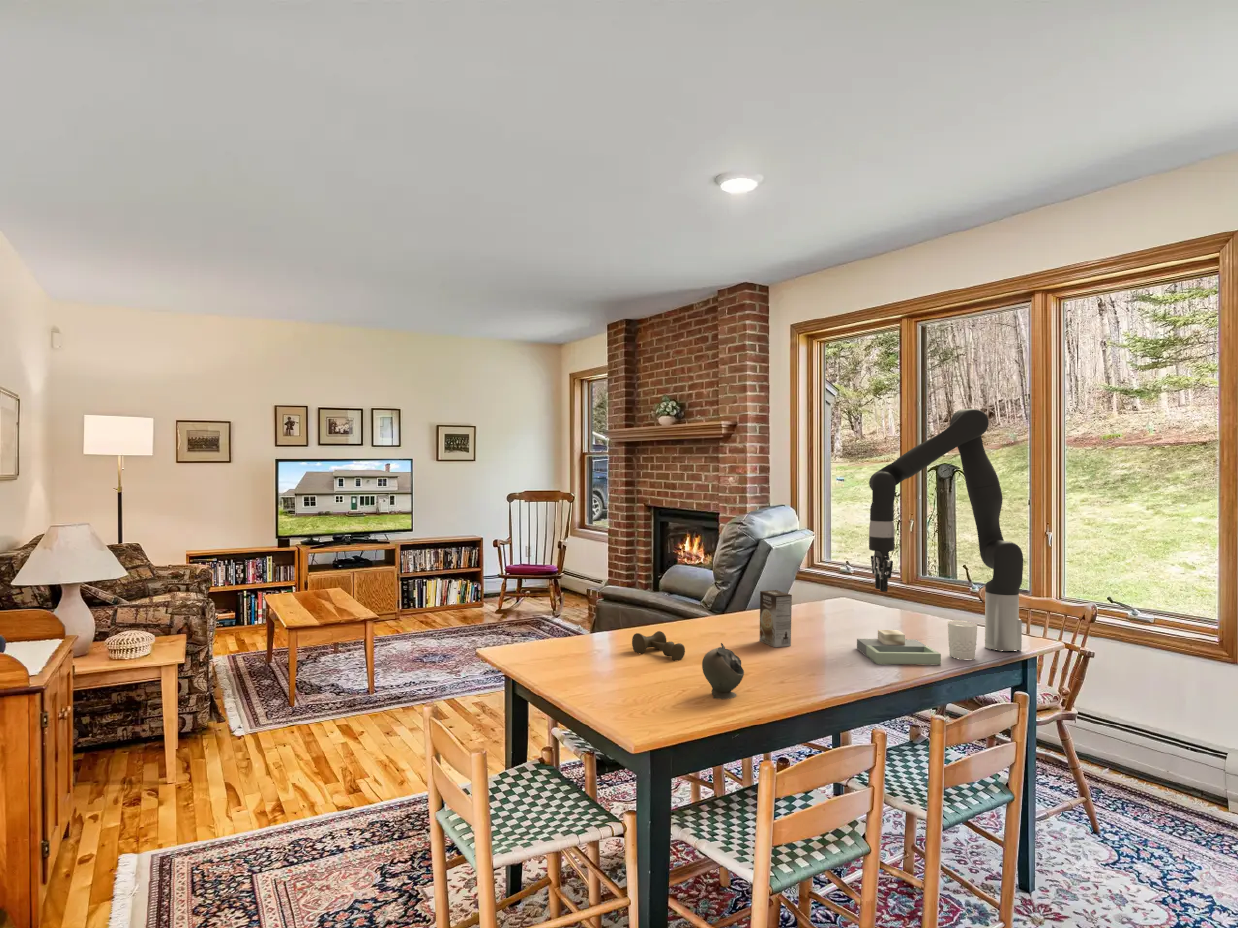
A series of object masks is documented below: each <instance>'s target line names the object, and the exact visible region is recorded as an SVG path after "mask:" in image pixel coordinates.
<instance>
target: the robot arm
mask: <svg viewBox="0 0 1238 928" xmlns="http://www.w3.org/2000/svg"><path fill="white" fill-rule="evenodd" d="M989 421H990V420H989V417H988V415H987V414H986V413H985V412H984V411H983V410H980V409H977V408H962V409H959V410H957V411H955V412H954V413H953V414H952V416H951V418H950V421H949V426H948V427H947V428H945V429H943V431H941V432H940V433H938V434H937V435H934V436H933V437H931V438H930V439H927V440H926V441H924V442H921V443H920V444H918V445H916V446H914V447H912V448H911V449H909V450H908V451H907V452H904V453H903V454H902V455H900V456H899V457H898V458H897V459H895V460H894V461H893V462H891V463H889V464H887V465H886V466H884V467H882V468H881V469H879V470H878V471H876V472H874V473H873V474H871V477H870V478H869V481H868V485H869V488H870V490H871V491H872V497H871V499H872V500H871V501H872V502H871V503H870V509H869V511H870V513H869V529H868V549H869V550H870V551H873V552H874V553H873V555H870V563H871V573H872V574H873V577H874V578H875V579H874V582H875V583H874V584H875V585H874V589H876V590H879V591H880V592H883V593H884V592H888V590H889V589H888V588H889V587H888V586H889V584H888V583H889V581H888V580H889V579H891V577H892V572H893V565H894V561H893V560H891V558H890V554H889V553H890V552H894V551H895V539H896V538H895V533H896V532H895V517H894V516H895V513H894V512H895V511H894V510H895V509H894V507H895V505H894V503H895V498H896V490H897V489H896V487H897V485H899V484H900V483H901V482H903V481H904V480H908V479H910V478H912V477H913V476H915V475H917V474H918V473H919V472H921V471H922V470H924V469H926V468H927V467H928V466H930V465H931V464H932V463H934V462H935V461H937V460H938V459H940V458H941V457H942V456H945V455H946V454H947V453H950V452H951V451H953V450H954V449H956V448H957V449H958V454H959V457H960V460H961V468H962V472H963V476H964V480H965V486H966V490H967V494H968V498H969V502H970V505H971V509H972V513H973V514H972V515H973V518H974V522H975V527H976V532H977V539H978V549H979V553H980V558H981V560H982V563H983V564H984V565H985V566H986V567H988V568H990V569H992V570H993V573H992V578H991V579H990V580H989V581H987V582H986V583H985V586H984V587H985V588H984V592H985V594H984V595H985V596H984V597H985V598H984V602H985V603H984V605H985V607H984V609H985V610H984V612H985V613H984V648H986V649H987V650H991V649H997V650H1003V651H1014V650H1022V643H1023V642H1022V641H1023V636H1022V633H1023V632H1022V631H1023V630H1022V629H1023V627H1022V626H1023V625H1022V624H1023V621H1022V619H1021V618H1020V613H1019V612H1020V588H1021V586H1022V583H1023V575H1024V574H1023V572H1024V555H1023V554H1024V553H1023V551H1022V549H1021V547H1020V546H1019V545H1018V544H1016V543H1015V542H1011V541H1007V540H1004V537H1003V534H1002V530H1001V526H1000V524H1001V523H1000V518H1001V512H1002V511H1001V510H1002V507H1003V491H1002V488H1001V483H1000V480H999V478H998V474H997V473H996V470H995V468H994V465H993V464H992V462H991V461H990V459H989V456H988V455H987V453H986V450H985V447H984V443H983V436H982V435H984V434H985V433H986V432H987V430H988V428H989V423H990V422H989Z"/></svg>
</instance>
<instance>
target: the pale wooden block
mask: <svg viewBox="0 0 1238 928" xmlns="http://www.w3.org/2000/svg"><path fill="white" fill-rule="evenodd" d="M877 639H878V640H879V641H880V642H882V643H883V644H886V645H905V639H906V634H905V633H903V632H902V631H900V630H898V629H877Z"/></svg>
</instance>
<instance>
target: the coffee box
mask: <svg viewBox="0 0 1238 928" xmlns="http://www.w3.org/2000/svg"><path fill="white" fill-rule="evenodd" d="M759 593H760V594H759V641H760V642H762V643H764V644H765V645H766V644H767V645H768V646H771V647H773V648H783V647H791V646H792V605H793V604H792V602H793V601H792V600H793V599H792V597H793V596H792V594H790V593H786V592H784V591H780V590H778V589H772V590H770V589H769V590H761V591H759Z"/></svg>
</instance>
